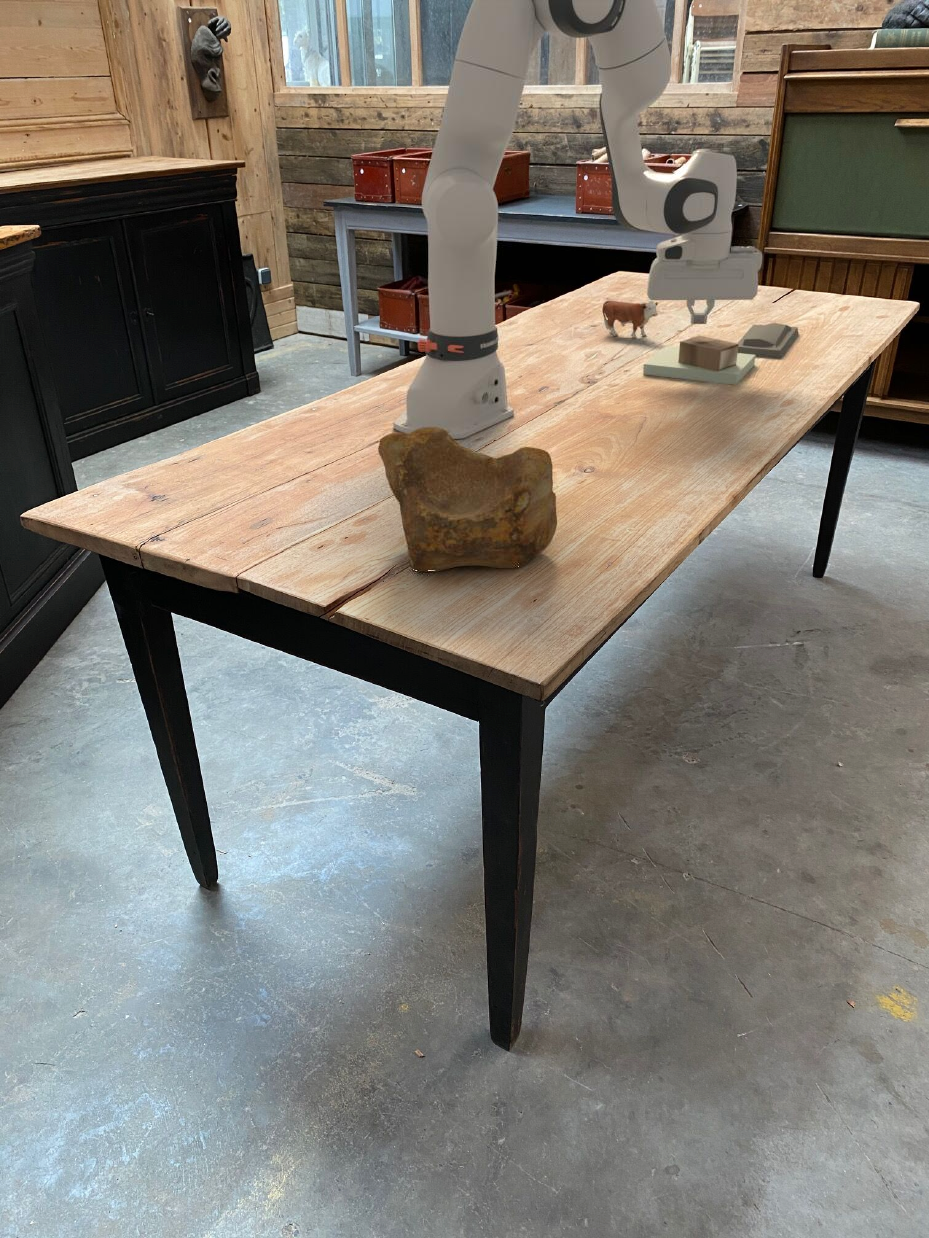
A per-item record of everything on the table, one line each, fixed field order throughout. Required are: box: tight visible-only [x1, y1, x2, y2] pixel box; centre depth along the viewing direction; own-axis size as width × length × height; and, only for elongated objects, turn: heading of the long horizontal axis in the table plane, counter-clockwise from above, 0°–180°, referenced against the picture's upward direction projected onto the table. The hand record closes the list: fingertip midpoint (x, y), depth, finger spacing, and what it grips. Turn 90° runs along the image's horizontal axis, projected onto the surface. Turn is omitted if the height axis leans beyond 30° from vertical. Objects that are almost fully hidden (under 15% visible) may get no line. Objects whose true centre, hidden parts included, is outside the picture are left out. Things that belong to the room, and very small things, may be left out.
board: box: [642, 345, 757, 386], centre depth 183 cm, size 14×18×2 cm
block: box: [678, 335, 739, 372], centre depth 179 cm, size 6×4×9 cm
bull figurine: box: [602, 299, 659, 339], centre depth 204 cm, size 4×13×8 cm, turn 53°
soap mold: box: [737, 322, 800, 359], centre depth 197 cm, size 10×20×4 cm, turn 153°
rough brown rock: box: [377, 427, 558, 571], centre depth 114 cm, size 23×16×15 cm
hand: (698, 323), depth 179 cm, fingers closed
